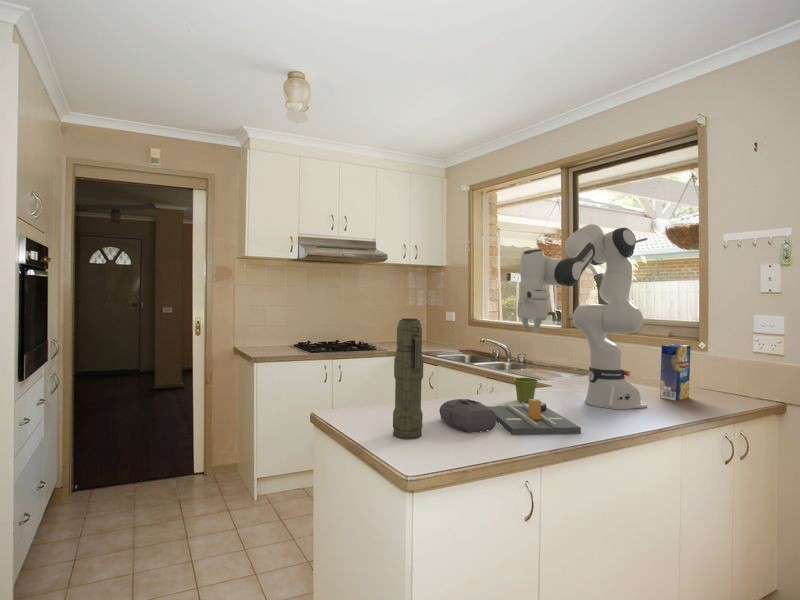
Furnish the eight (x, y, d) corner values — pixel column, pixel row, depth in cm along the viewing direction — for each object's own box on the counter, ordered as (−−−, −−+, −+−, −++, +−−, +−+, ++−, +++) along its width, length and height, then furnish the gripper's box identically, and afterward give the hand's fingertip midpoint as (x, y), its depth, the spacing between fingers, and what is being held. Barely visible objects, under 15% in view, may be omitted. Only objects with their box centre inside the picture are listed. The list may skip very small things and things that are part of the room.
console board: (543, 411, 183) (544, 399, 183) (580, 433, 156) (581, 420, 155) (485, 411, 181) (485, 400, 180) (512, 435, 153) (512, 421, 153)
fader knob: (537, 417, 166) (537, 398, 166) (540, 419, 163) (541, 400, 163) (527, 417, 165) (528, 398, 165) (531, 419, 162) (531, 400, 162)
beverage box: (688, 397, 212) (690, 345, 211) (676, 400, 205) (678, 347, 205) (672, 394, 217) (673, 344, 217) (659, 397, 211) (661, 345, 210)
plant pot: (528, 405, 192) (528, 382, 192) (508, 400, 200) (508, 379, 199) (542, 401, 199) (542, 380, 198) (522, 397, 206) (522, 376, 205)
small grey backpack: (502, 430, 158) (467, 415, 176) (503, 404, 158) (468, 391, 176) (462, 435, 152) (430, 419, 170) (462, 408, 152) (430, 394, 170)
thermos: (407, 442, 143) (409, 320, 143) (384, 432, 153) (386, 318, 152) (431, 437, 149) (433, 319, 148) (407, 428, 158) (410, 317, 157)
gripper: (513, 293, 193) (512, 328, 194) (534, 293, 173) (533, 333, 173) (529, 293, 194) (528, 328, 195) (551, 294, 174) (550, 333, 174)
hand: (530, 331), depth 184 cm, fingers open, 8 cm apart
